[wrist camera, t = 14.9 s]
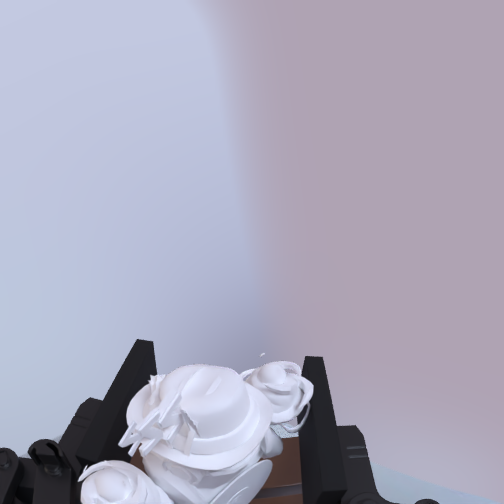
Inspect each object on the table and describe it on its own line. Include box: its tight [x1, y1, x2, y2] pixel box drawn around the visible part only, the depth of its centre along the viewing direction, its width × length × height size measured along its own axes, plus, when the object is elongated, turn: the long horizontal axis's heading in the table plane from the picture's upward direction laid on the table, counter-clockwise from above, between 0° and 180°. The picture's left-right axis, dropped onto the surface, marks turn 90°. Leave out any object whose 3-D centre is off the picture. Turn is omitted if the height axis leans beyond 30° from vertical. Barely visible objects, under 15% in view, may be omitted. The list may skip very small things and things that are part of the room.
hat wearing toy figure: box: [78, 353, 313, 504], centre depth 9 cm, size 9×4×12 cm, turn 140°
